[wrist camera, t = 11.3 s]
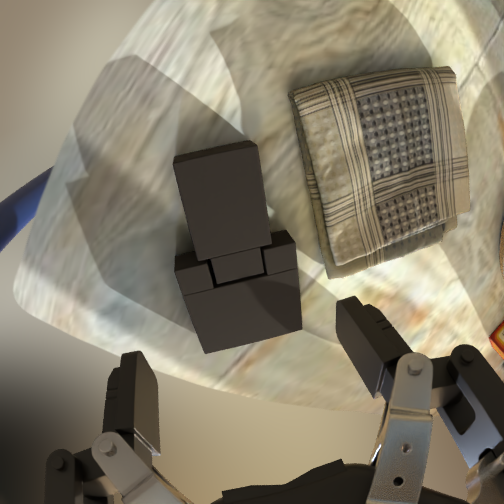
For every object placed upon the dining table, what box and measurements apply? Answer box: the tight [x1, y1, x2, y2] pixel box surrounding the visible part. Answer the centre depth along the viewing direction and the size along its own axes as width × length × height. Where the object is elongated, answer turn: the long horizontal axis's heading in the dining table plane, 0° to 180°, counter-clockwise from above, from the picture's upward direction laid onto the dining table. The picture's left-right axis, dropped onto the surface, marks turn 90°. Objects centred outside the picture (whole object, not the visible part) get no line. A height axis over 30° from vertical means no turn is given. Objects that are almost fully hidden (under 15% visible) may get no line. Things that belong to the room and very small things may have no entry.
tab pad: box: [173, 140, 272, 284], centre depth 24 cm, size 6×10×2 cm, turn 8°
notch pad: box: [174, 230, 302, 354], centre depth 28 cm, size 10×10×2 cm
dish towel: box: [288, 66, 470, 279], centre depth 25 cm, size 19×18×3 cm
